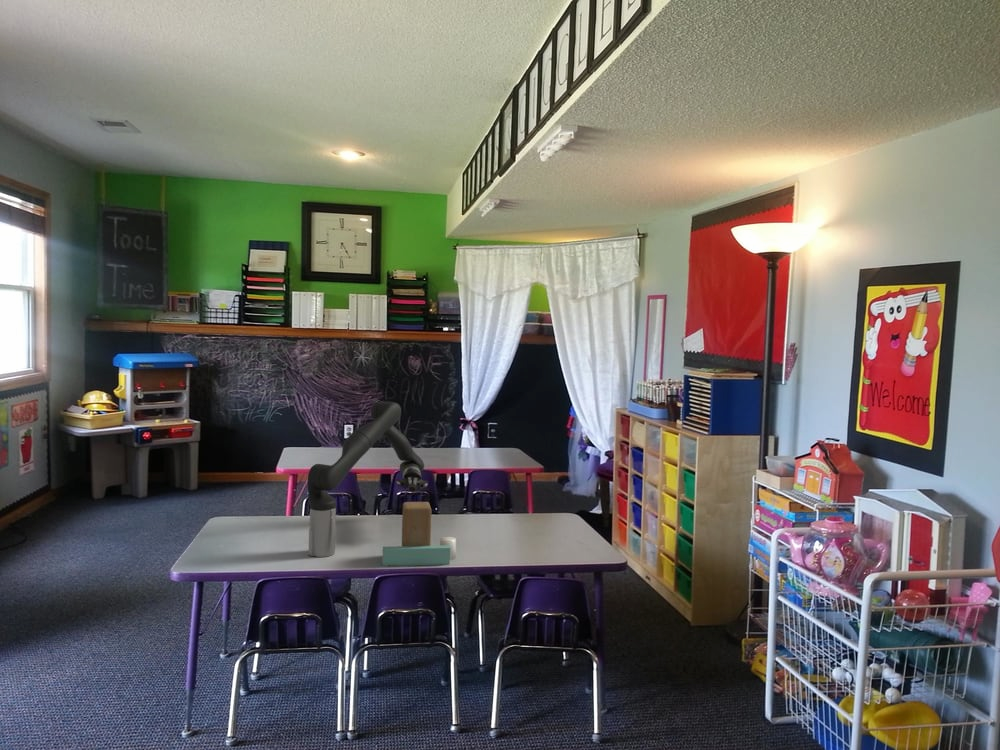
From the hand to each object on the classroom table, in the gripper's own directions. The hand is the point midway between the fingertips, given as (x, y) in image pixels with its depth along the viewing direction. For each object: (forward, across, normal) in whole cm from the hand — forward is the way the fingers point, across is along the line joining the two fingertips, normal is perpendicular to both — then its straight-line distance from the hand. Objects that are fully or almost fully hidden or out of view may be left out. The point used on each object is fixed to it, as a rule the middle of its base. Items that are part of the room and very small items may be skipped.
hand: (412, 489), depth 272 cm
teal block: (+24, +3, +20) cm, 32 cm away
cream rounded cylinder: (+18, +15, +20) cm, 30 cm away
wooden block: (+18, +3, +21) cm, 28 cm away
